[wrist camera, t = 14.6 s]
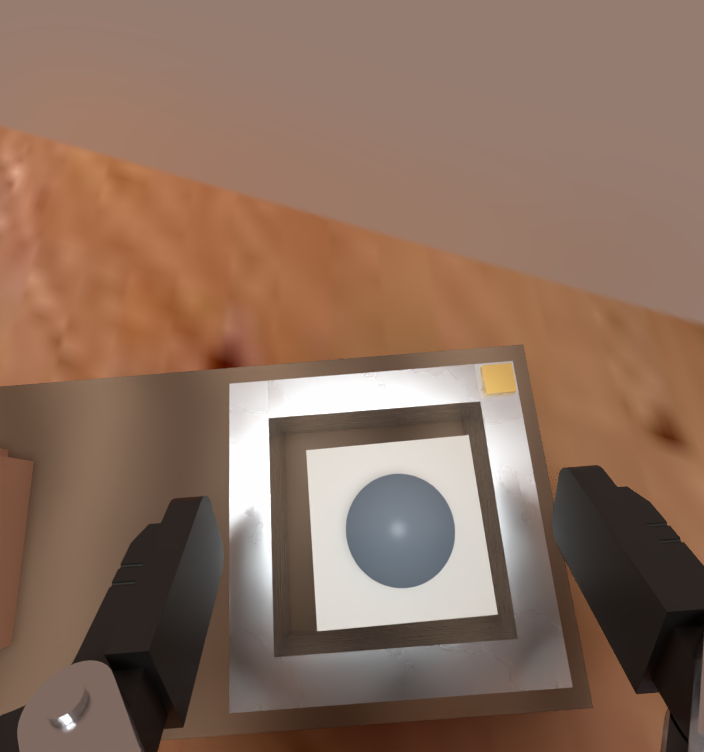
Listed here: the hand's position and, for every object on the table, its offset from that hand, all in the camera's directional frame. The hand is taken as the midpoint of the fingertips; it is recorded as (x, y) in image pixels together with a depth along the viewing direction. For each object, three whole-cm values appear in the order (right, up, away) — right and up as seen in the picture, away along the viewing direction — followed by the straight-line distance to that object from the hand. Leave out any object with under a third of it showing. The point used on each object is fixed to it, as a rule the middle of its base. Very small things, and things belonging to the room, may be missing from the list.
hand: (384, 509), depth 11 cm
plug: (0, -2, +5) cm, 6 cm away
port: (0, -2, +5) cm, 6 cm away
